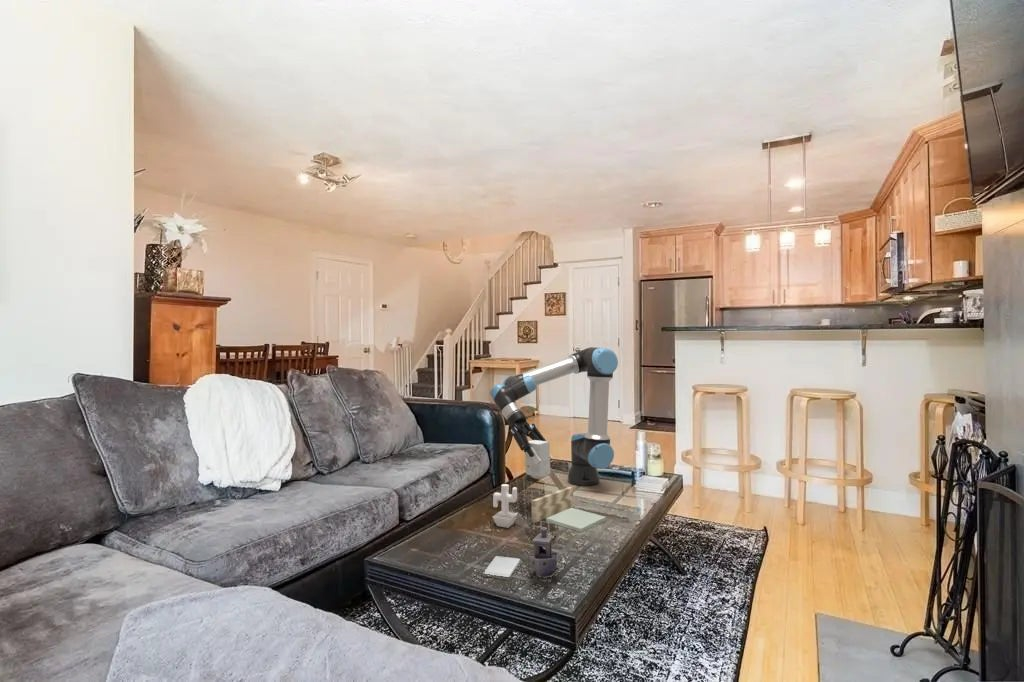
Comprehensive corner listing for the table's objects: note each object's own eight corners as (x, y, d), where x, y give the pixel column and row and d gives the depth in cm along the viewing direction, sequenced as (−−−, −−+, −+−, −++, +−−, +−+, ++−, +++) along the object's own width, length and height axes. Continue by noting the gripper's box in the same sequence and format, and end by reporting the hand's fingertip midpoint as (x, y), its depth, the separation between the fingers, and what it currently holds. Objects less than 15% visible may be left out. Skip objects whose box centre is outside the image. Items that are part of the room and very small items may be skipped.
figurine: (497, 519, 193) (497, 480, 193) (520, 523, 189) (520, 483, 189) (489, 526, 186) (489, 485, 186) (512, 530, 183) (512, 488, 183)
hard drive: (495, 555, 159) (482, 572, 147) (520, 558, 157) (508, 576, 145) (495, 560, 159) (482, 578, 147) (520, 564, 157) (508, 582, 145)
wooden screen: (569, 506, 208) (569, 486, 208) (572, 506, 207) (572, 487, 207) (531, 521, 191) (531, 500, 191) (534, 522, 190) (534, 501, 190)
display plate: (571, 510, 203) (571, 507, 203) (605, 520, 192) (605, 516, 192) (546, 521, 191) (546, 518, 191) (581, 532, 180) (581, 528, 180)
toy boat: (537, 562, 156) (536, 519, 156) (562, 565, 154) (562, 521, 154) (524, 585, 142) (523, 538, 142) (552, 589, 139) (551, 541, 139)
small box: (550, 473, 204) (549, 441, 204) (540, 477, 199) (539, 444, 199) (535, 470, 209) (534, 439, 209) (525, 474, 205) (524, 441, 205)
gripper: (524, 418, 221) (554, 462, 210) (493, 424, 207) (523, 471, 196) (534, 407, 218) (564, 451, 207) (502, 412, 204) (533, 459, 193)
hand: (544, 460), depth 202 cm, fingers closed on small box, 6 cm apart
